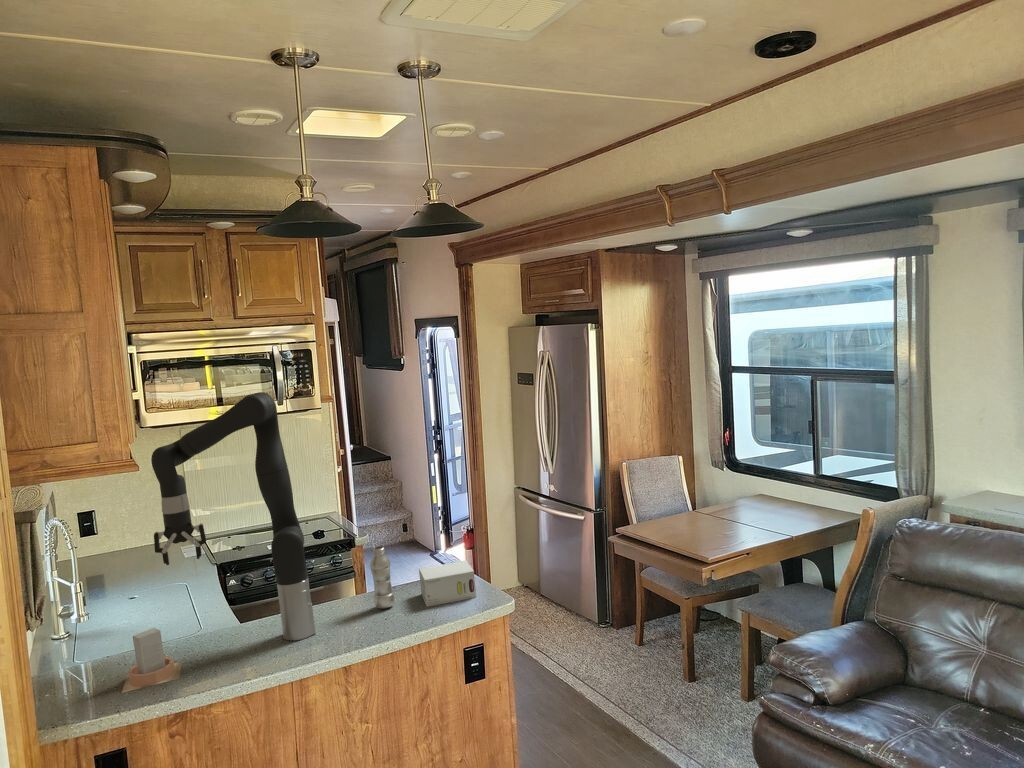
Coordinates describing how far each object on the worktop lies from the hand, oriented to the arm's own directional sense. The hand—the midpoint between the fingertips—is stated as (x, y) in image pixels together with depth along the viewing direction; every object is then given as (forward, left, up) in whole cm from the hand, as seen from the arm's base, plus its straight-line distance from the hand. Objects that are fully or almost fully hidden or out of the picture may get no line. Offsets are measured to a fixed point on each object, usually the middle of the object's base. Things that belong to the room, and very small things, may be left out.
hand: (183, 561), depth 217 cm
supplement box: (-79, +11, -26) cm, 84 cm away
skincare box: (+10, +20, -25) cm, 33 cm away
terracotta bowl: (+10, +20, -26) cm, 34 cm away
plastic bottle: (-58, +8, -26) cm, 64 cm away
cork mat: (+10, +20, -26) cm, 34 cm away
